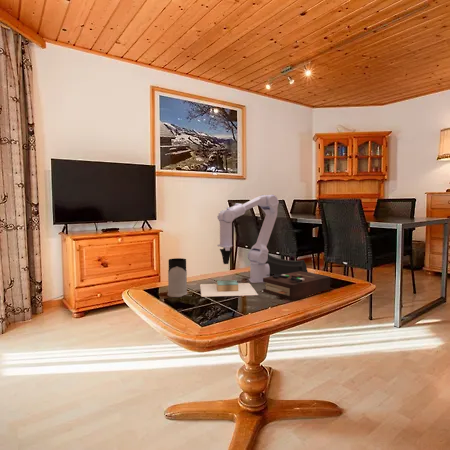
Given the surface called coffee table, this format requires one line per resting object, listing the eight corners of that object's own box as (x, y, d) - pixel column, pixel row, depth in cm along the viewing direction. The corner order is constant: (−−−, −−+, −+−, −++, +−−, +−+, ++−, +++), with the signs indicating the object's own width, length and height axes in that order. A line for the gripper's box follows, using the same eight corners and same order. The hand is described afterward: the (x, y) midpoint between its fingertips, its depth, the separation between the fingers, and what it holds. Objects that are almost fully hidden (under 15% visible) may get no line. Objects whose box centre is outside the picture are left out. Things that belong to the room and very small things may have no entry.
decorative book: (335, 274, 148) (291, 284, 130) (335, 291, 148) (291, 303, 130) (301, 268, 163) (257, 276, 145) (301, 283, 164) (257, 293, 145)
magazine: (313, 263, 167) (269, 241, 187) (309, 264, 164) (265, 242, 185) (304, 293, 171) (262, 269, 192) (301, 294, 169) (258, 270, 189)
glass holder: (166, 297, 137) (166, 261, 137) (169, 288, 152) (168, 256, 151) (187, 296, 138) (187, 261, 137) (188, 288, 152) (188, 256, 152)
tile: (235, 280, 154) (238, 284, 146) (235, 286, 154) (238, 290, 146) (216, 280, 153) (218, 284, 145) (216, 287, 153) (218, 291, 145)
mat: (249, 283, 161) (249, 283, 161) (258, 295, 139) (258, 295, 139) (200, 285, 159) (200, 284, 159) (201, 297, 137) (201, 296, 137)
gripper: (216, 234, 163) (216, 261, 164) (218, 237, 149) (218, 266, 150) (230, 234, 164) (230, 261, 165) (234, 236, 150) (234, 266, 151)
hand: (225, 263), depth 157 cm, fingers closed
